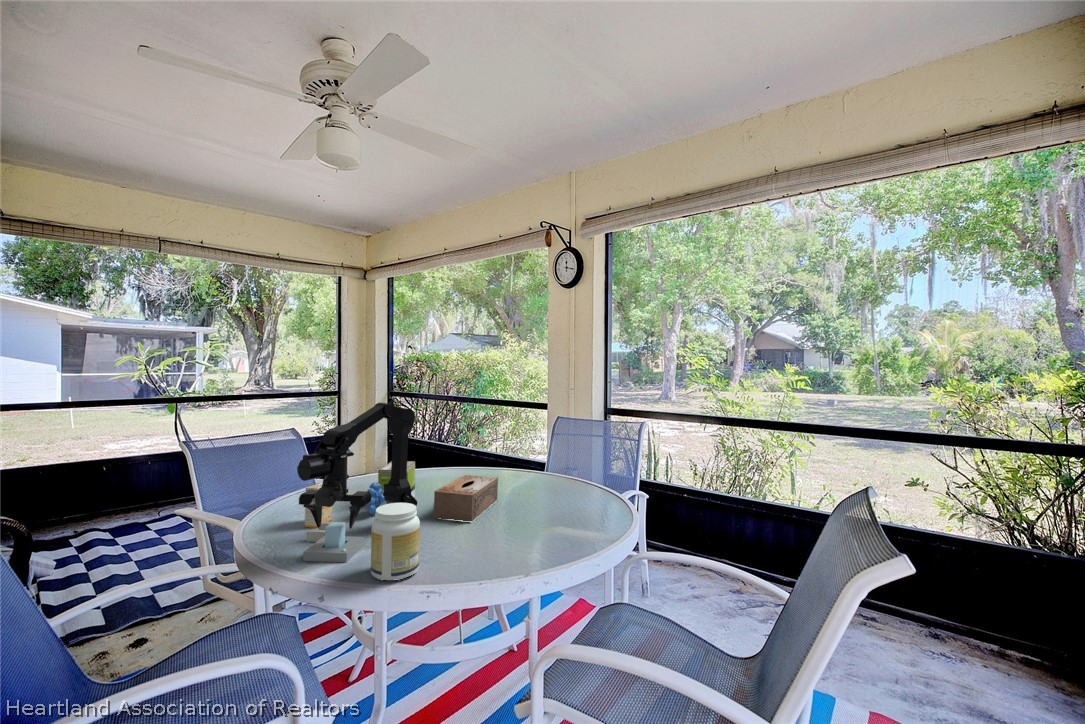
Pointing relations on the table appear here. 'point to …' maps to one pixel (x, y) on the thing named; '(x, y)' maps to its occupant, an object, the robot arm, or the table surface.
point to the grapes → (375, 497)
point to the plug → (335, 535)
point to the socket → (333, 550)
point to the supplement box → (325, 510)
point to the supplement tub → (395, 541)
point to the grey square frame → (319, 532)
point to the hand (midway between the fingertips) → (334, 527)
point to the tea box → (385, 476)
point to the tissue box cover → (465, 497)
